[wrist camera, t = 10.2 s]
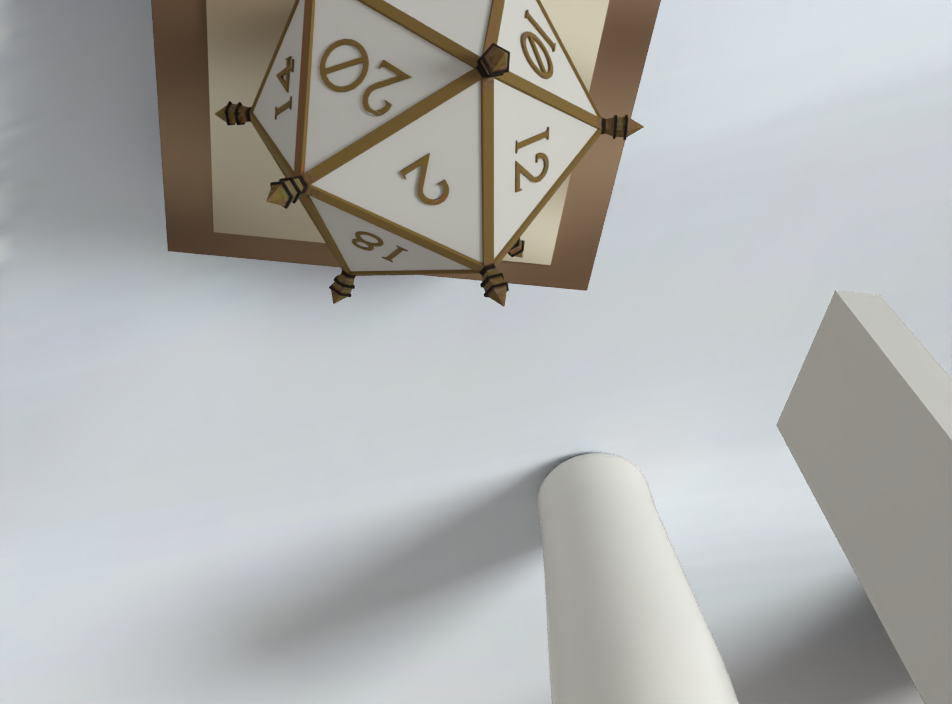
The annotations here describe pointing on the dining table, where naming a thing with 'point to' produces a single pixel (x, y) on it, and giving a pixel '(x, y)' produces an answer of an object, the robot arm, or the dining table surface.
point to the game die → (422, 130)
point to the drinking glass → (620, 594)
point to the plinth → (253, 169)
